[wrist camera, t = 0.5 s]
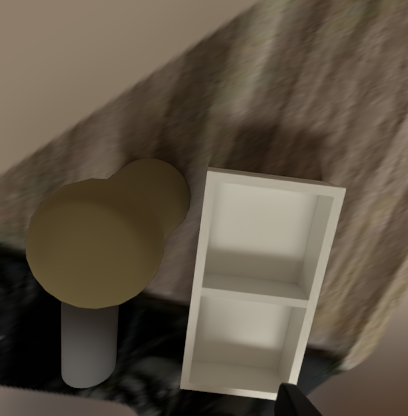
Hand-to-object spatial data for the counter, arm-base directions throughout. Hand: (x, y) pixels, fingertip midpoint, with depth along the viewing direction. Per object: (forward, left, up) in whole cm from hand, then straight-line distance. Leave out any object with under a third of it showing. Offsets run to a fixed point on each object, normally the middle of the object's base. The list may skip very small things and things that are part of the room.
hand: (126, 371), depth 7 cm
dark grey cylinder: (-9, +6, -11) cm, 15 cm away
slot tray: (-3, -6, -13) cm, 15 cm away
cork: (+2, +2, -13) cm, 14 cm away
